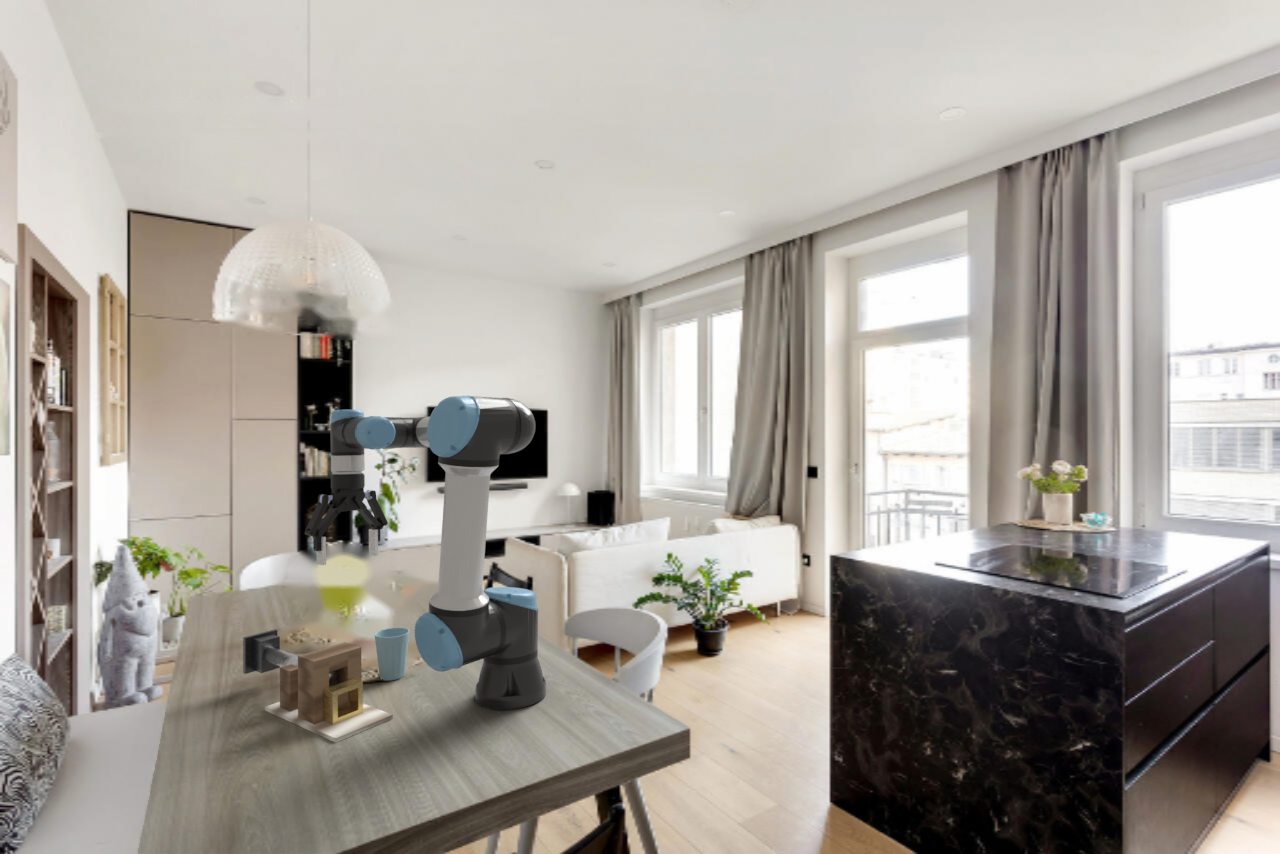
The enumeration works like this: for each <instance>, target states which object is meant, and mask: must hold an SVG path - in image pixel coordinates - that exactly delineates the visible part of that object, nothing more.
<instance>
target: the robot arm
mask: <svg viewBox="0 0 1280 854" xmlns="http://www.w3.org/2000/svg"><path fill="white" fill-rule="evenodd" d="M329 427H330V472H331V475H330V488H331V493H330V495H328V494H323V493H321V494H318V497H317V504H316V506H315V508H314V511H313V512H312V515H311V517H310V519H309V522H308V524H307V526H306V528H305V529H304V530H305V531H304V535H306V536H309V537H312V542H313V544H312V546H313V547H312V548H313V551H314V552H316V565H320V566H326V565H327V537H326V536H323V535H324V534H325V533H326V532H327V530H328V529H329V528H330V526H331V525H332V523H333V522H334V521H335V519H336V518H337V516H338V515H339V514H341V512H344V513H345V512H348V511H352V512H353V511H357V512H358V513H359V514H360V515H361V516H362V517H363V519H364V520H365V521H366V523H367V524H368V525H369V526H370V527H371V528H369V529H368V555H369V556H373V557H377V556H379V542H380V541H381V530H382V529H383V528H384V526H385V527H386V526H388V524H389V523H388V520H387V518H386V516H385V513H384V512H383V509H382V507H381V505H380V504H379V501H378V499H377V492H376V490H369V489H368V490H366V491H364V488H365V485H366V484H365V483H366V482H365V480H366V479H365V474H364V473H363V472H364V471H365V470H366V469H365V466H366V465H365V450H368V449H369V450H381V449H403V448H405V449H407V448H409V449H411V448H412V449H413V448H416V449H419V448H427V449H428V448H429V449H430V451H431V452H432V453H433V454H435V455H436V456H438V460H437V461H438V462H437V464H438V465H439V467H441V468H442V470H444V472H445V477H444V492H443V506H442V507H443V508H442V521H441V522H442V523H441V524H442V525H441V526H442V527H441V537H440V538H441V541H440V554H439V571H438V585H437V587H438V588H437V590H436V591H435V592H434V593H433V594H432V595H431V596H430V597H429V599H428V600H429V601H428V602H429V603H428V612H424V613H423V614H422V615H419V616H418V619H416V622H415V625H414V641H415V645H416V647H417V650H418V653H419V654H420V657H421V659H422V660H423V661H424V663H425V664H426V665H427V666H428V667H429V668H430V669H432V670H434V671H437V672H442V673H443V672H447V671H451V670H455V669H456V670H458V669H460V668H461V667H463V666H466V665H469V664H472V663H475V662H477V661H480V660H483V662H482V665H481V668H480V673H479V677H478V681H477V683H476V685H475V689H474V693H475V695H474V696H475V697H474V699H475V702H476V703H477V704H478V705H479V706H481V707H483V708H487V709H493V710H514V709H521V708H526V707H529V706H532V705H534V704H537V703H538V702H540V701H541V700H543V699H544V698H545V696H546V694H547V682H546V679H545V677H544V675H543V670H542V667H541V664H540V661H539V656H538V649H539V648H538V646H539V645H538V643H539V642H538V632H539V631H538V630H539V629H538V628H539V625H538V624H539V623H538V620H539V619H538V617H539V616H538V615H539V614H538V613H539V608H538V600H537V598H538V597H537V595H536V593H535V592H534V591H532V590H530V589H527V588H521V587H511V586H496V587H495V586H494V587H493V586H492V587H487V588H485V589H484V590H483V588H484V585H483V583H484V574H485V573H484V568H485V556H486V555H485V554H486V540H487V525H488V515H489V513H488V512H489V496H490V485H491V484H490V483H491V474H492V473H493V472H494V471H495V470H496V469H497V468H498V467H499V465H500V455H510V454H514V453H517V452H520V451H522V450H523V449H525V448H526V447H527V446H528V445H529V444H530V443H531V442H532V440H533V438H534V435H535V433H536V420H535V417H534V414H533V413H532V410H530V408H529V407H528V406H527V405H526V404H525V403H522V402H521V401H520V400H518V399H514V398H509V397H492V396H491V397H490V396H489V397H488V396H471V395H456V396H454V395H452V396H449V397H446V398H444V399H442V400H441V401H440V402H438V404H437V405H436V406H435V407H434V409H433V410H432V412H431V414H430V416H423V417H422V416H420V417H398V416H397V417H392V416H391V417H390V416H379V415H369V416H365V413H364V411H362V409H334V410H333V411H331V415H330V424H329ZM364 499H365V500H366V502H367V503H368V506H369V508H370V510H371V511H370V510H369V509H368V506H367V505H366V504H365V503H364V502H363V501H364ZM330 502H332V504H331V506H329V509H328V511H327V508H328V505H329V504H330ZM326 511H327V512H326ZM325 513H326V514H325ZM324 514H325V515H324Z"/></svg>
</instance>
